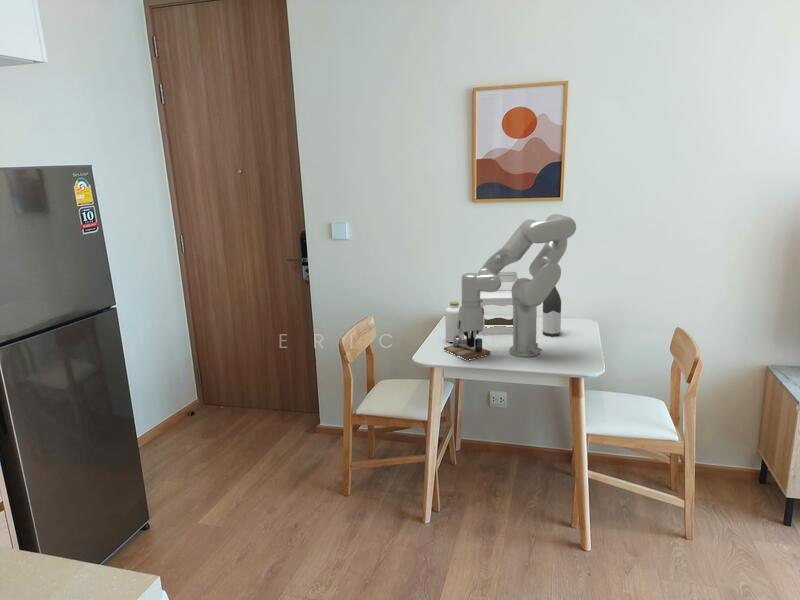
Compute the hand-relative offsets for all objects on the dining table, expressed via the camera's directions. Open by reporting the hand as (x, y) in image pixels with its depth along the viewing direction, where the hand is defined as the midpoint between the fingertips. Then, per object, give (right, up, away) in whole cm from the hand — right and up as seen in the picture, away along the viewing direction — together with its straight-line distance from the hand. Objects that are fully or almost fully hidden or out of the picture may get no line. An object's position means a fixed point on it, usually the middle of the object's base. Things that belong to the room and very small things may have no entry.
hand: (470, 346), depth 234 cm
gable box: (+18, +5, +35) cm, 40 cm away
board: (-1, -3, +7) cm, 8 cm away
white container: (-4, 0, +22) cm, 23 cm away
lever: (0, -1, +6) cm, 6 cm away
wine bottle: (+40, +3, +25) cm, 48 cm away
